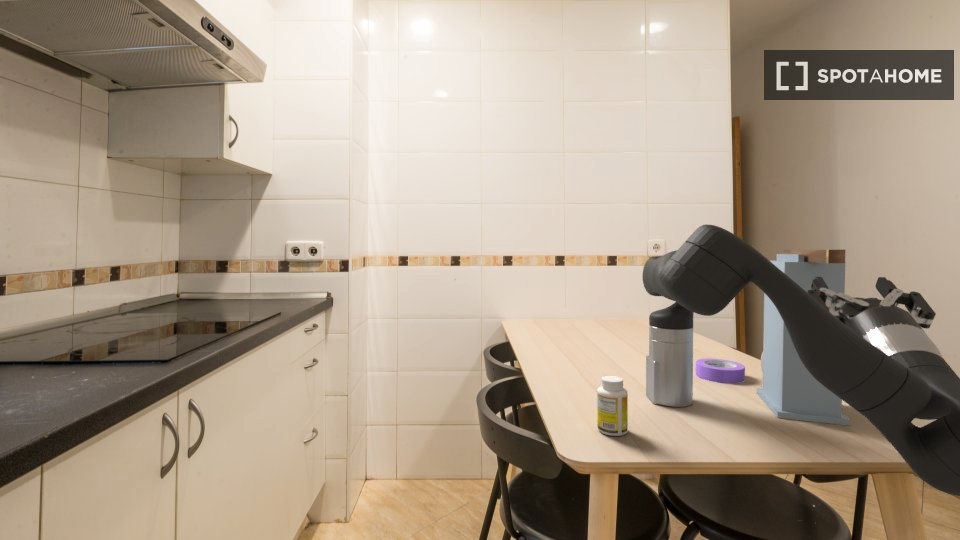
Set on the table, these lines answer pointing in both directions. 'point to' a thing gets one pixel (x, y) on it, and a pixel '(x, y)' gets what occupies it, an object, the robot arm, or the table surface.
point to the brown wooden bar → (820, 255)
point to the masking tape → (720, 370)
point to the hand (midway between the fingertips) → (847, 281)
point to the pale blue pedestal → (783, 370)
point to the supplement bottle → (612, 406)
